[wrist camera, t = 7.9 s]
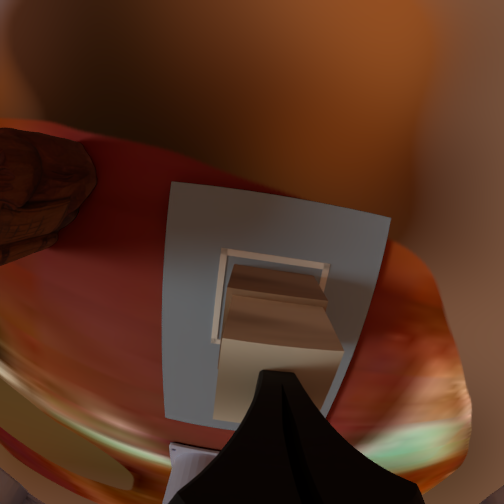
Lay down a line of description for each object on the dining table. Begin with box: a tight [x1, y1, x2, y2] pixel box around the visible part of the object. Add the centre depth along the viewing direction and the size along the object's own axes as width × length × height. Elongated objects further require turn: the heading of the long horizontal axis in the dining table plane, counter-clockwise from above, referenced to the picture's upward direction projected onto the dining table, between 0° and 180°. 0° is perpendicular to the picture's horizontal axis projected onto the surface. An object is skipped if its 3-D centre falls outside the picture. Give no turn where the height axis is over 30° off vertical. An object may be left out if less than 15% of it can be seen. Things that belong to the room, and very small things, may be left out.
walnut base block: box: [217, 264, 328, 369], centre depth 16 cm, size 5×5×4 cm
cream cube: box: [213, 295, 344, 423], centre depth 12 cm, size 4×4×4 cm
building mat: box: [162, 182, 391, 431], centre depth 19 cm, size 20×14×1 cm
